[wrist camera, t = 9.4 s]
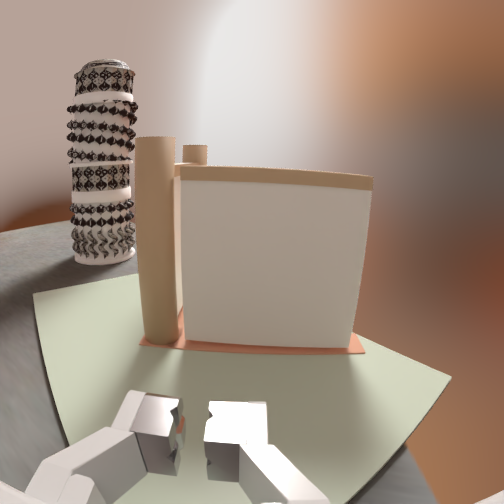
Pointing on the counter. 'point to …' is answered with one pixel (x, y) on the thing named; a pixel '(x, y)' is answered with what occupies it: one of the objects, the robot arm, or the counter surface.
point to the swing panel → (272, 254)
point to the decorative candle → (102, 162)
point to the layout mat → (231, 392)
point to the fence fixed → (160, 232)
